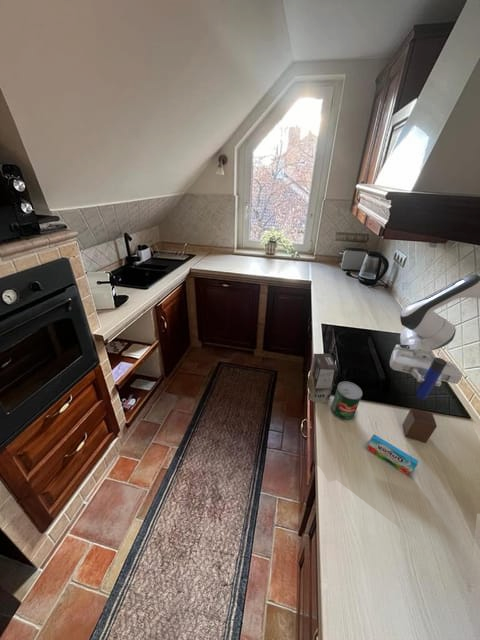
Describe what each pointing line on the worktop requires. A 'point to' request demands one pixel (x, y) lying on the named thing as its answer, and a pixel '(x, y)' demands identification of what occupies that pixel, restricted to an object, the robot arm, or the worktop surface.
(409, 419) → the walnut block
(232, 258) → the worktop surface
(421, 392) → the dark blue flat piece
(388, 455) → the yogurt
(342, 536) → the worktop surface
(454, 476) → the worktop surface
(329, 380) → the coffee box
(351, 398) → the canned tomato
